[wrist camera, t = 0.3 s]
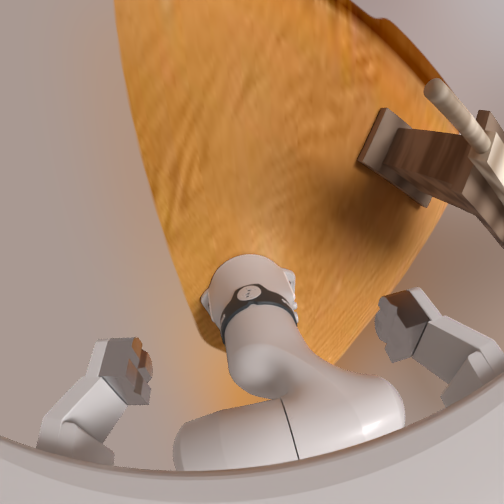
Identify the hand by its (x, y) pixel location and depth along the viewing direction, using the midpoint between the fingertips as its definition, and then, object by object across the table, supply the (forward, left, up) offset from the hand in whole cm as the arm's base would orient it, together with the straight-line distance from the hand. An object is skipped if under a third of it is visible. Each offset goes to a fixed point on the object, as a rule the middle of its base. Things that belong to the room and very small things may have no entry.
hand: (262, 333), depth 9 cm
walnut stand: (-5, -37, -40) cm, 55 cm away
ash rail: (0, -30, -14) cm, 33 cm away
